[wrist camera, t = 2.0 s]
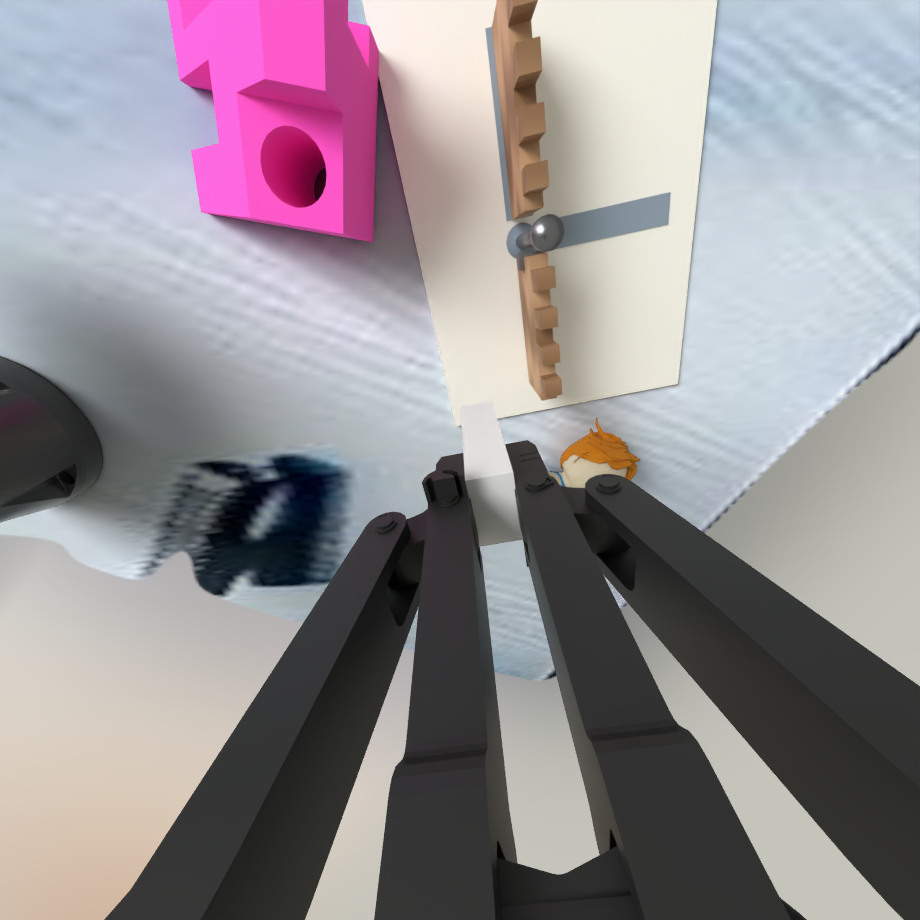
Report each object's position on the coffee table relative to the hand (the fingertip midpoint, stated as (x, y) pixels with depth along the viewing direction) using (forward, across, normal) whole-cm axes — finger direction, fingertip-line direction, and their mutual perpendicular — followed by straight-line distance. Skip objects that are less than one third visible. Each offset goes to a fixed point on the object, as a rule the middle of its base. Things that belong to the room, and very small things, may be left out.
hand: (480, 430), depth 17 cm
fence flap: (+16, +6, +2) cm, 17 cm away
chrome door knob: (+17, +6, +8) cm, 19 cm away
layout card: (+17, +8, +8) cm, 20 cm away
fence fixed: (+16, +6, +14) cm, 22 cm away
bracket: (+16, -9, +17) cm, 25 cm away
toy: (+17, +7, -14) cm, 23 cm away
